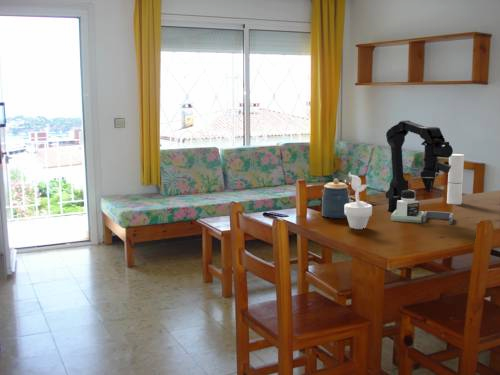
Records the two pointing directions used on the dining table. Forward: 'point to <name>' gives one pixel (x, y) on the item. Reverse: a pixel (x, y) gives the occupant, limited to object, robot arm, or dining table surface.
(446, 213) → the dock
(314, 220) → the dining table surface
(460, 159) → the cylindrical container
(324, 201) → the canister
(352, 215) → the potted plant
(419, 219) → the tray
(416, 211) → the medicine bottle
